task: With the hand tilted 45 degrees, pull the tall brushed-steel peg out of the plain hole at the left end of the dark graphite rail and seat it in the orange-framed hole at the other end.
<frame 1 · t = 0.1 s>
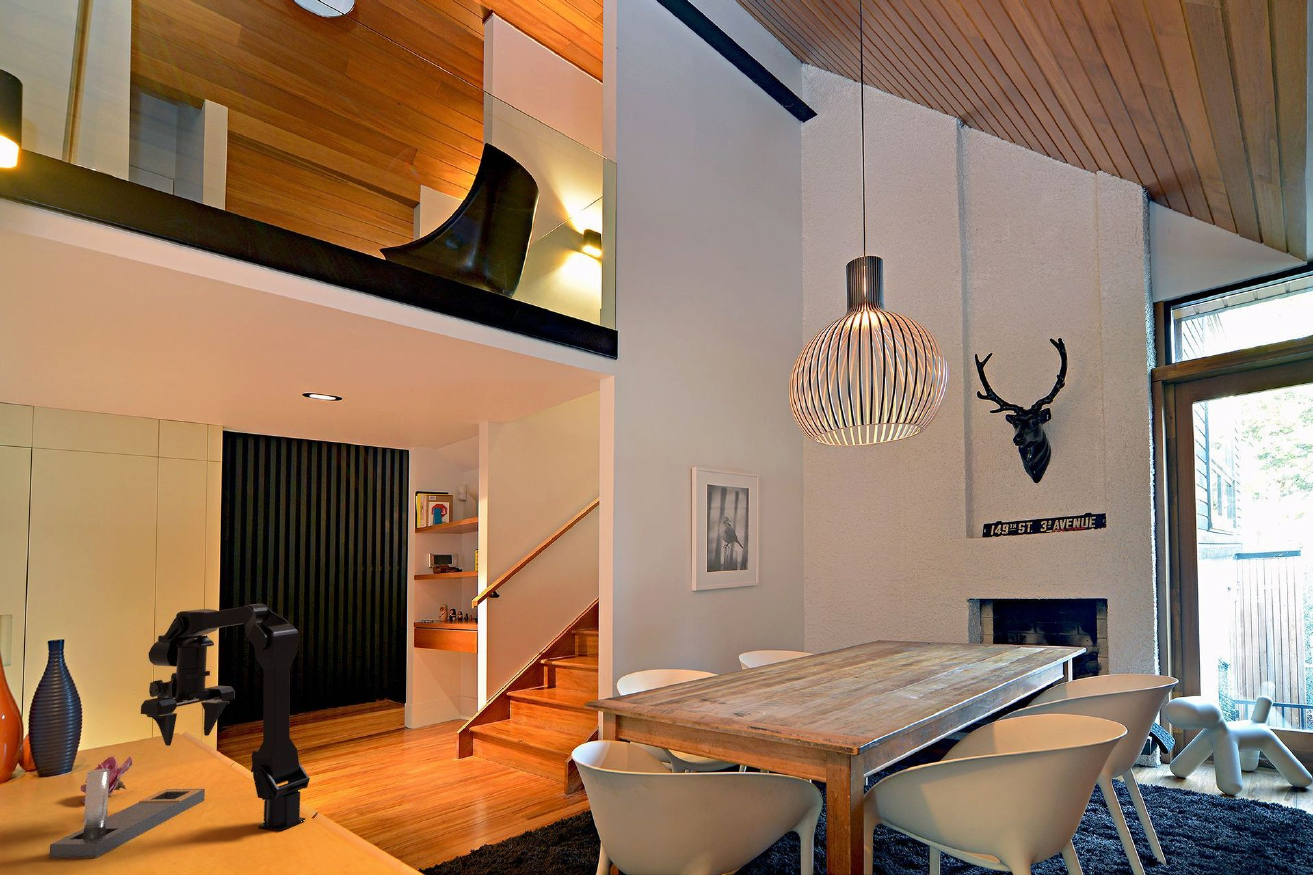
hand: (187, 740, 175), 15 cm above the table, tool pointing down, fingers open, 9 cm apart
peg: (93, 847, 153), resting in rail
rail: (134, 826, 164), on the table
flower: (103, 799, 183), on the table
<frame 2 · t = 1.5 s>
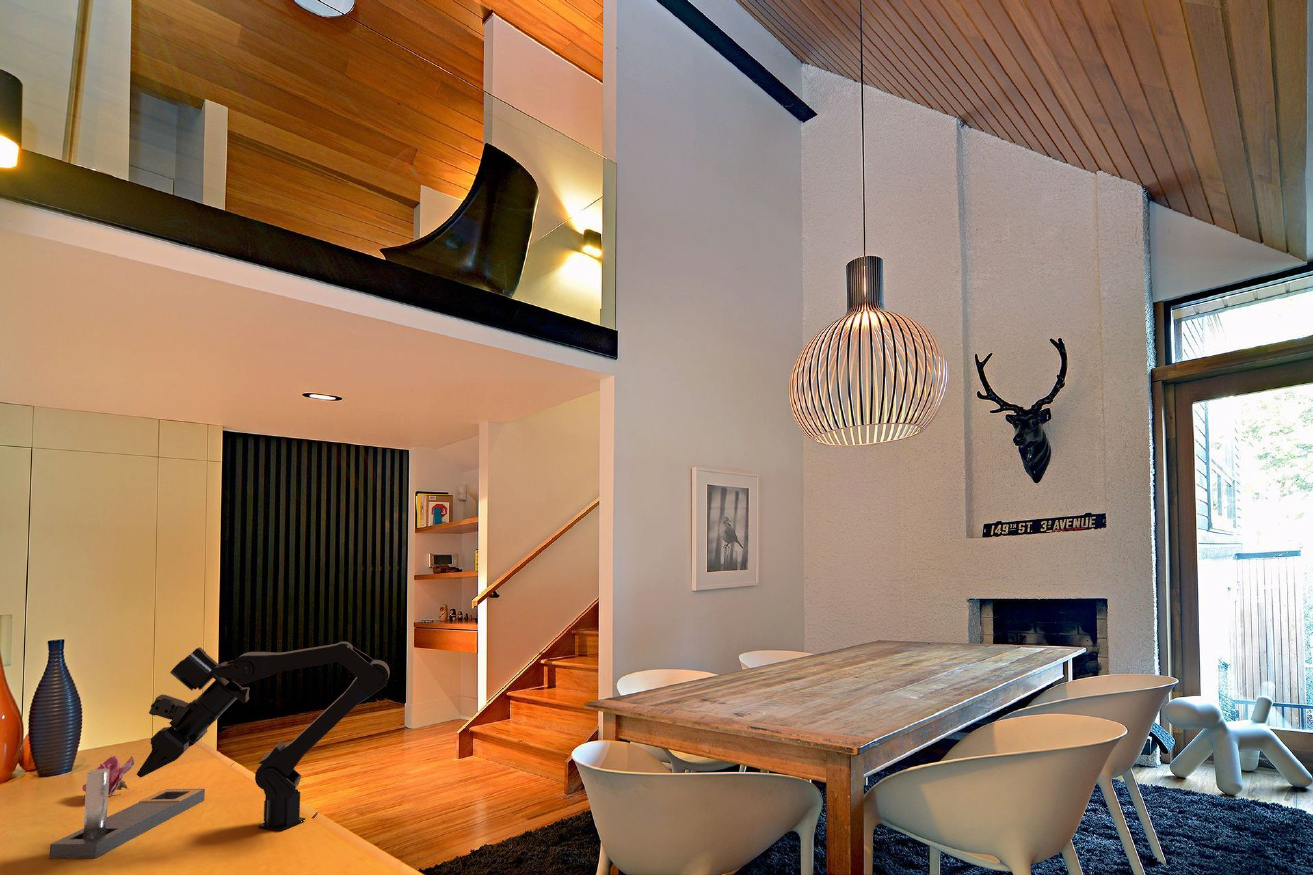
hand: (146, 769, 157), 13 cm above the table, tool tilted 45°, fingers open, 9 cm apart
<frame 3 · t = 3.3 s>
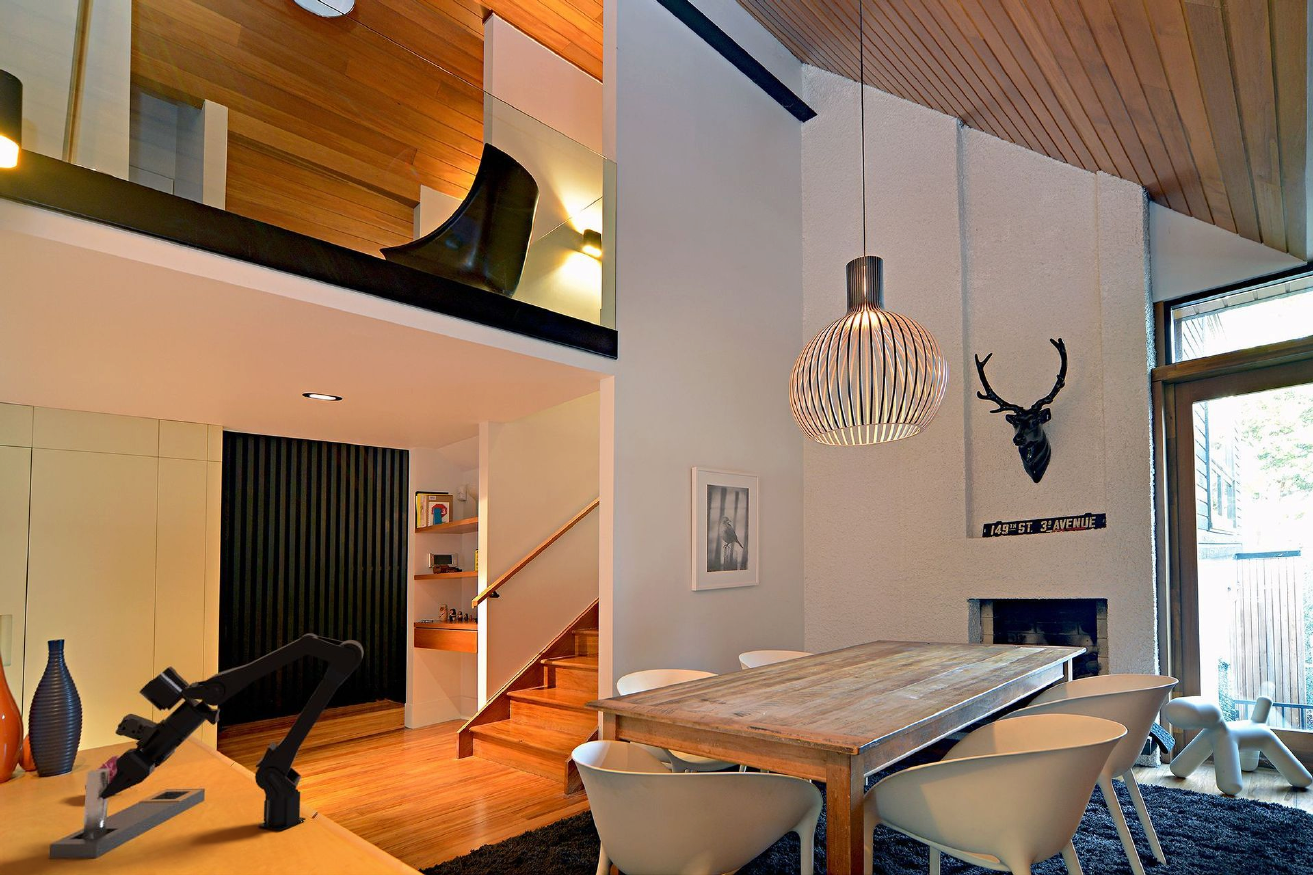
hand: (110, 790, 155), 10 cm above the table, tool tilted 45°, fingers open, 9 cm apart
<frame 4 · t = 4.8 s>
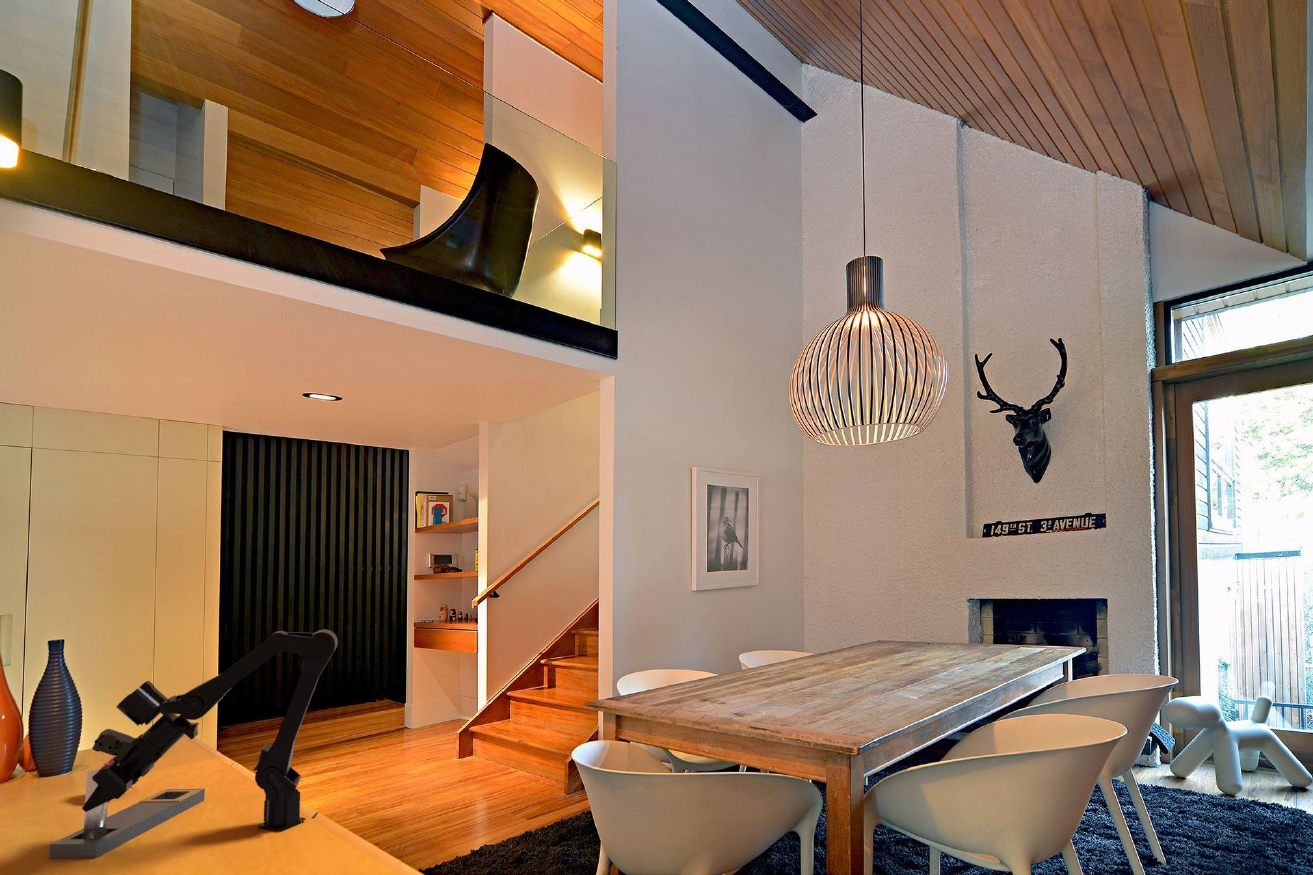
hand: (87, 806, 153), 8 cm above the table, tool tilted 45°, fingers closed on peg, 4 cm apart
peg: (93, 847, 153), resting in rail, touching gripper
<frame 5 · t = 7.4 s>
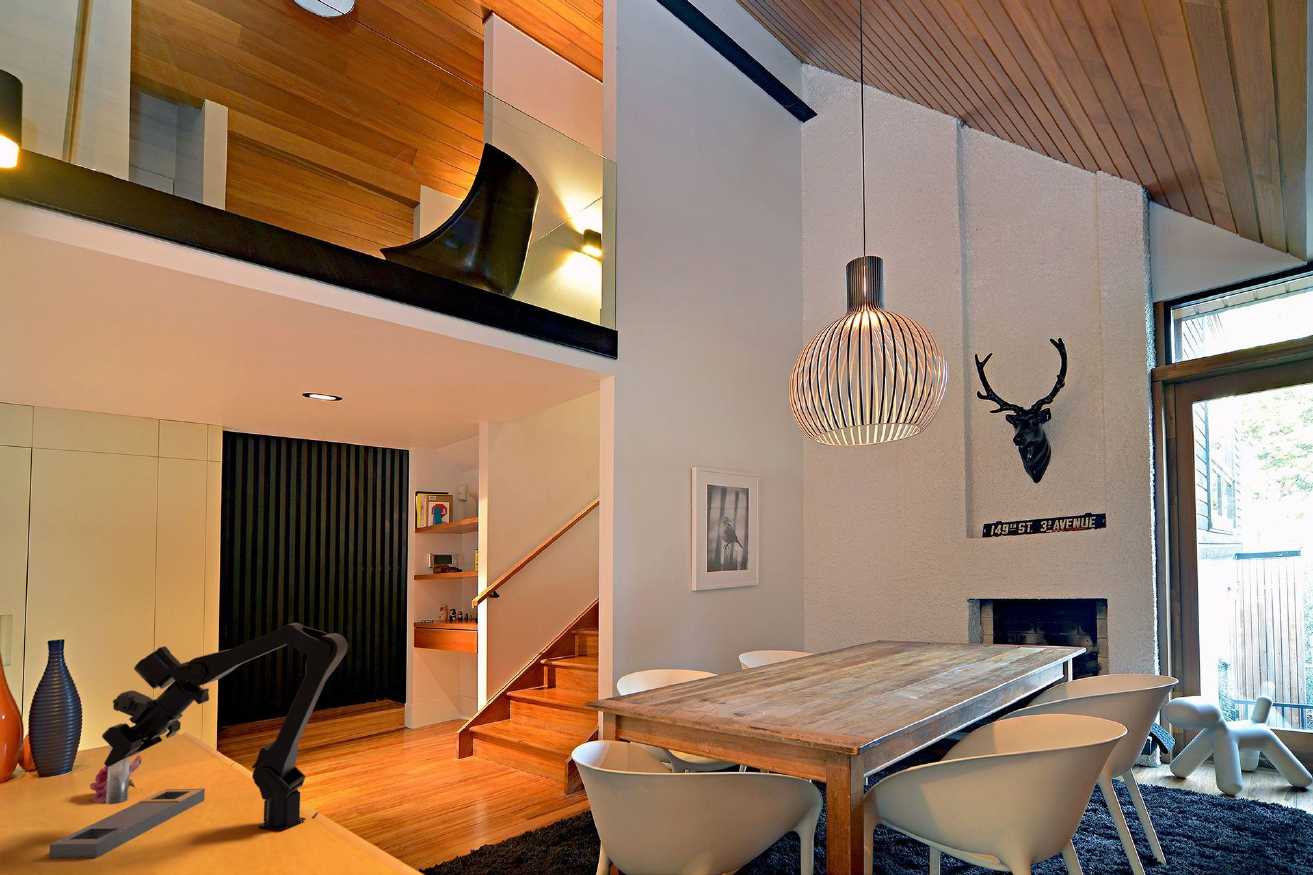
hand: (112, 762, 162), 13 cm above the table, tool tilted 45°, fingers closed on peg, 4 cm apart
peg: (116, 801, 162), point 6 cm above the table, touching gripper
when the fingers open (8 cm above the table, at t = 10.1 s): peg stays where it is, resting in rail.
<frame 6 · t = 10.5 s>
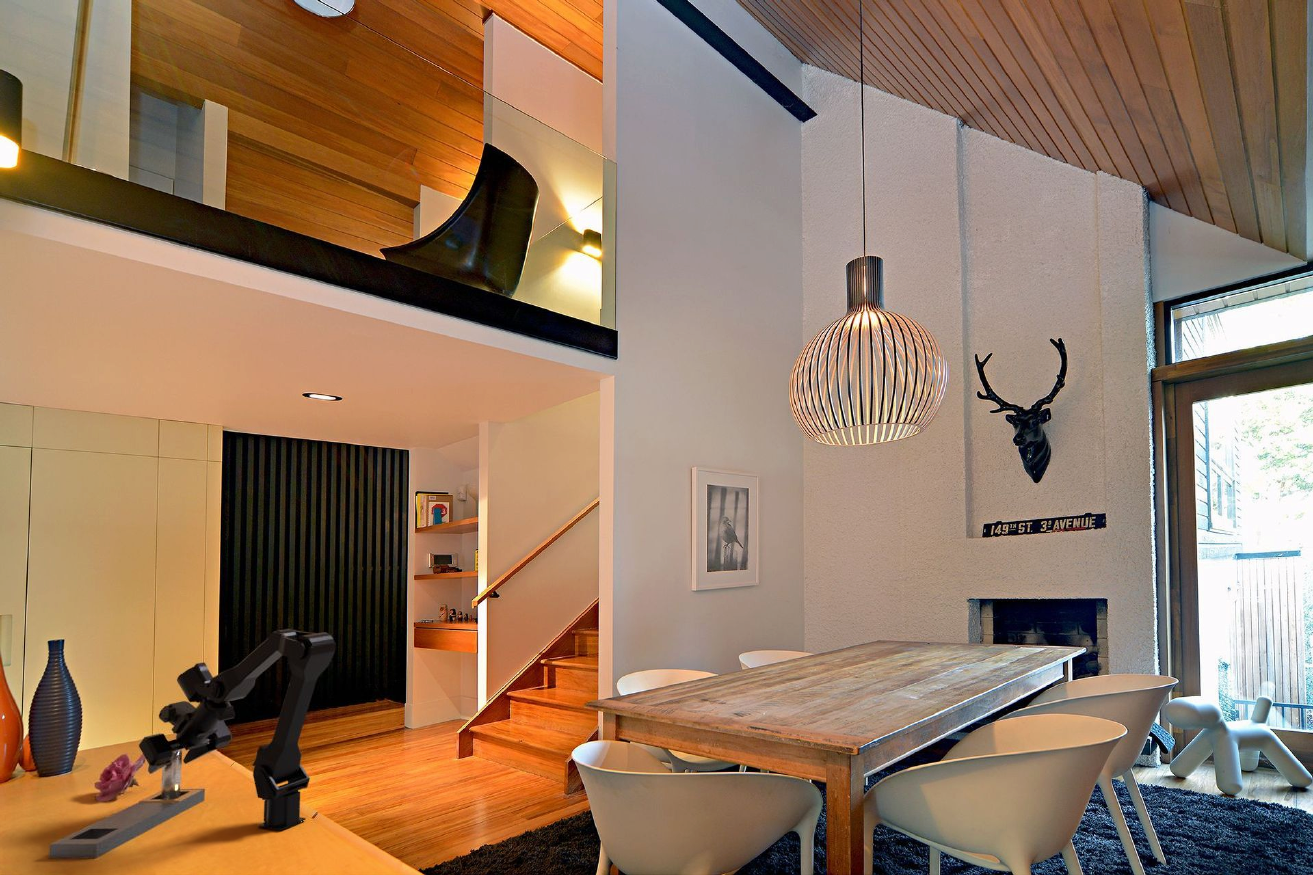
hand: (167, 766, 177), 9 cm above the table, tool tilted 45°, fingers open, 8 cm apart
peg: (169, 808, 175), resting in rail
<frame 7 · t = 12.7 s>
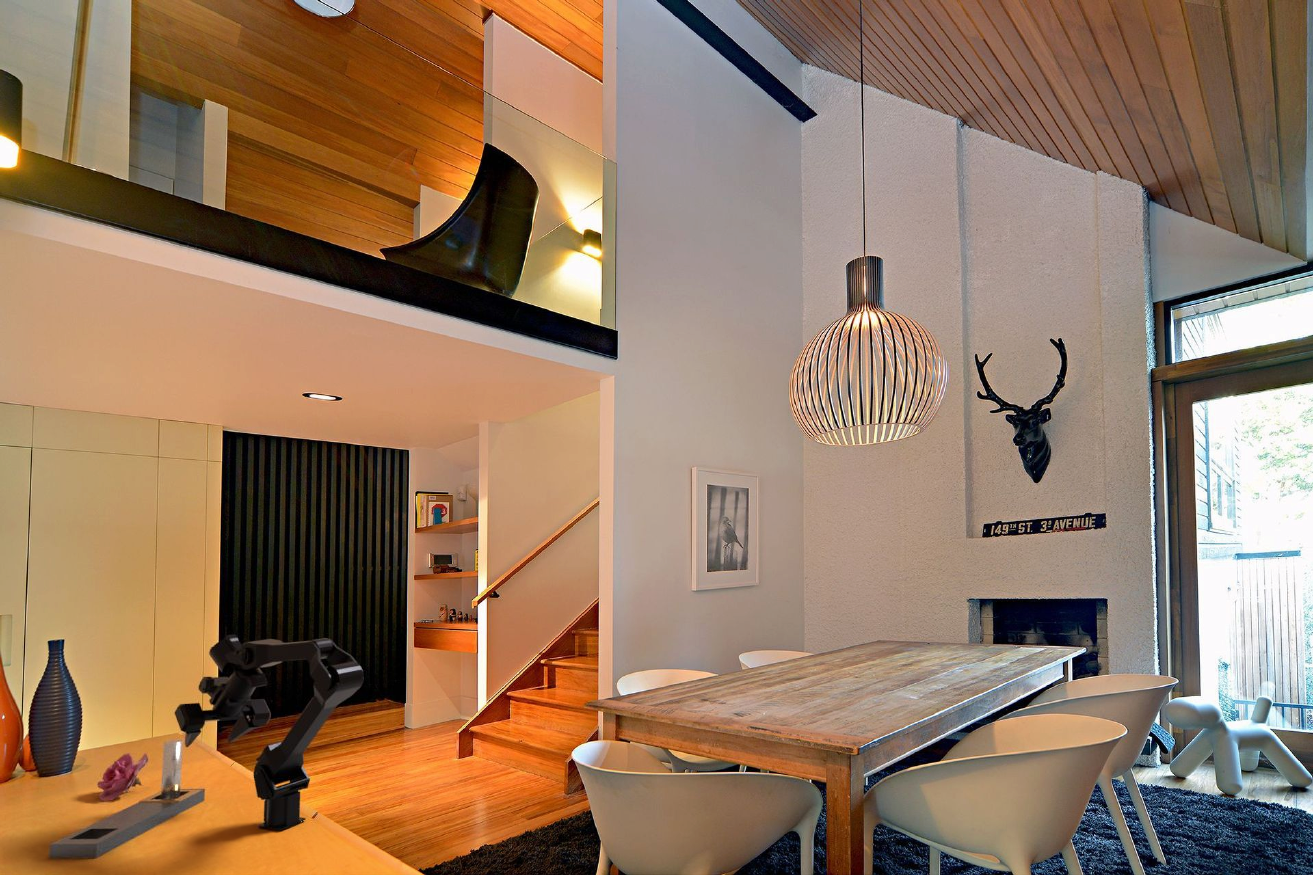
hand: (207, 743, 175), 14 cm above the table, tool tilted 40°, fingers open, 9 cm apart
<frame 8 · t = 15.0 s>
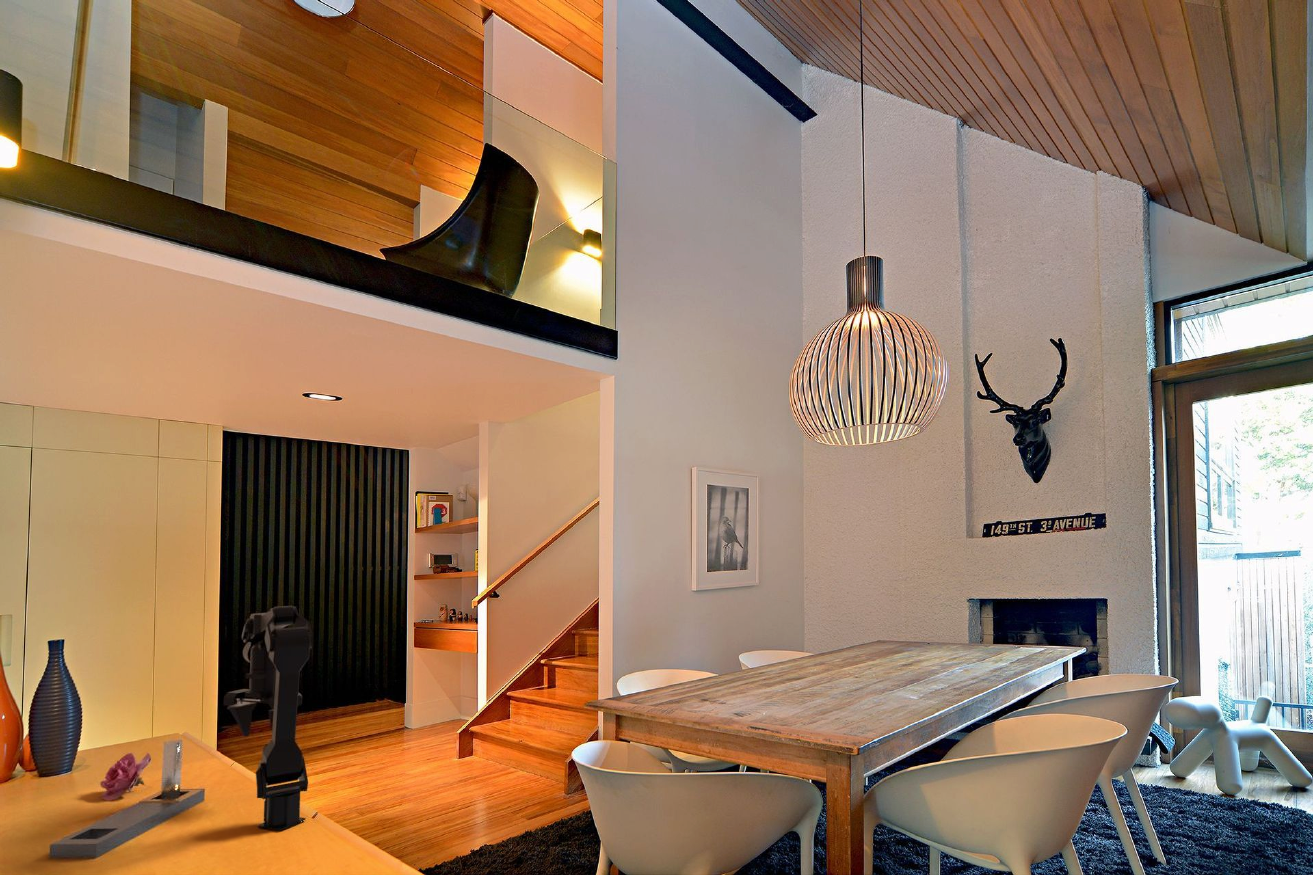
hand: (261, 737, 183), 13 cm above the table, tool pointing down, fingers open, 9 cm apart
at the end: peg 0.0 cm from the target spot, resting in rail; peg tilted 0°; the gripper is holding nothing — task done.
